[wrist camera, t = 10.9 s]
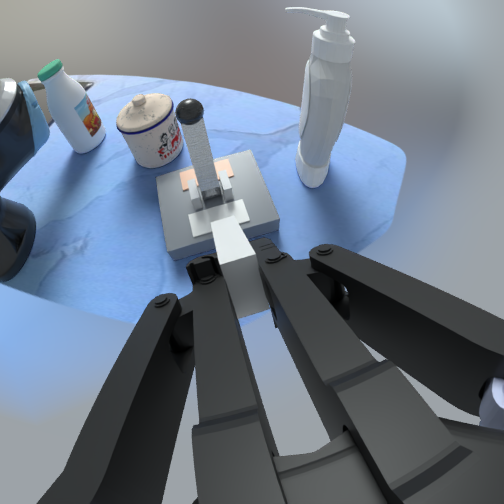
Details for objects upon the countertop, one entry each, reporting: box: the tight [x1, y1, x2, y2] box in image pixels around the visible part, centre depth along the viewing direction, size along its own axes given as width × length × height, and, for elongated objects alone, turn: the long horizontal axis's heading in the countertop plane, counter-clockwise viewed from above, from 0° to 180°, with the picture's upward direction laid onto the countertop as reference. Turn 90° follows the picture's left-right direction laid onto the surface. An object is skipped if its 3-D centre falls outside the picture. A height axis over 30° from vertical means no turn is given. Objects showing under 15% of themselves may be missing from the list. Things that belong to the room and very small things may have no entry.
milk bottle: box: [38, 59, 106, 154], centre depth 37 cm, size 8×8×20 cm
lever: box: [175, 99, 222, 200], centre depth 30 cm, size 3×3×13 cm
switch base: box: [156, 150, 280, 261], centre depth 35 cm, size 12×14×5 cm
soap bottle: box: [285, 7, 355, 188], centre depth 29 cm, size 13×8×24 cm, turn 173°
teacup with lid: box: [116, 93, 183, 168], centre depth 38 cm, size 12×9×12 cm
